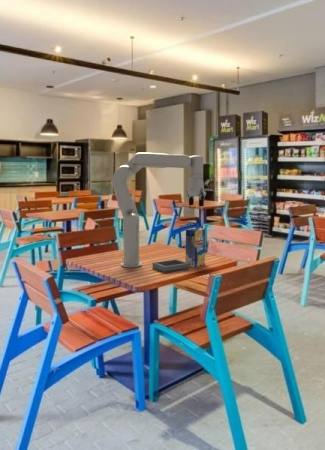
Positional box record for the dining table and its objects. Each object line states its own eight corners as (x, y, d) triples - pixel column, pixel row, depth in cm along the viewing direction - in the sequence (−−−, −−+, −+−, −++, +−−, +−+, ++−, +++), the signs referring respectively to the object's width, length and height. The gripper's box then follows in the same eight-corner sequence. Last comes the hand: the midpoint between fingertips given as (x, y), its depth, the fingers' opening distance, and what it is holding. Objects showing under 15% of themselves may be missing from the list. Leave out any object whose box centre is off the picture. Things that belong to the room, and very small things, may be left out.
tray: (152, 268, 247) (152, 262, 246) (176, 264, 256) (176, 259, 256) (164, 272, 236) (164, 266, 236) (189, 269, 245) (189, 263, 245)
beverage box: (204, 264, 258) (205, 228, 256) (194, 267, 250) (195, 230, 247) (195, 262, 262) (195, 227, 260) (185, 265, 254) (185, 229, 251)
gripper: (182, 176, 254) (182, 204, 256) (200, 177, 240) (200, 207, 242) (192, 176, 258) (192, 204, 260) (210, 177, 244) (210, 206, 246)
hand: (196, 205), depth 251 cm, fingers open, 9 cm apart
